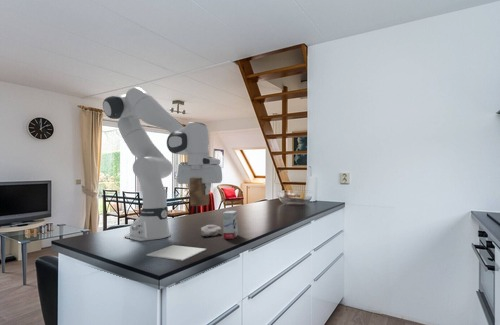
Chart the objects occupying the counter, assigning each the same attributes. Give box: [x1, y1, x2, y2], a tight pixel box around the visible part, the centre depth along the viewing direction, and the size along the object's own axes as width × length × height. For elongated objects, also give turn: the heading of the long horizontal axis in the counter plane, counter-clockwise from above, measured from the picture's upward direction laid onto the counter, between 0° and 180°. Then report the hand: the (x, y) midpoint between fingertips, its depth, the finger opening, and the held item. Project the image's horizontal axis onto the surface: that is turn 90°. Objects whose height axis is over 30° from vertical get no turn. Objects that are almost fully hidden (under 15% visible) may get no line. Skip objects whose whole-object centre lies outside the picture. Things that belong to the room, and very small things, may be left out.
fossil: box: [200, 224, 222, 237], centre depth 133 cm, size 9×6×10 cm
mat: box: [146, 244, 207, 262], centre depth 104 cm, size 17×14×1 cm
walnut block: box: [189, 177, 210, 207], centre depth 112 cm, size 5×6×11 cm
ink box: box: [222, 210, 239, 240], centre depth 127 cm, size 9×5×12 cm, turn 168°
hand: (199, 194), depth 111 cm, fingers closed on walnut block, 5 cm apart
